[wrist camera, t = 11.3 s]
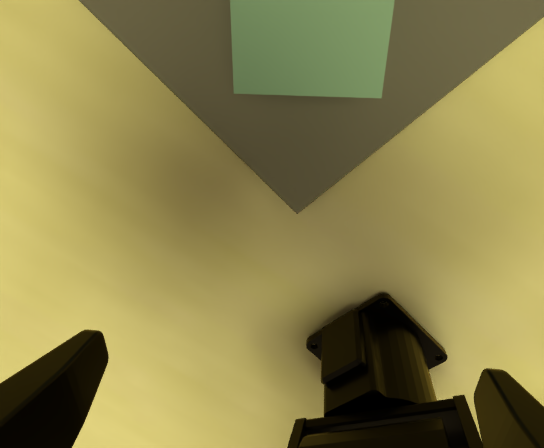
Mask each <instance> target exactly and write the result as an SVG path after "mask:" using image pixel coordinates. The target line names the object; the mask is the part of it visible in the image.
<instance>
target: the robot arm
mask: <svg viewBox="0 0 544 448" xmlns="http://www.w3.org/2000/svg"><path fill="white" fill-rule="evenodd" d="M382 301H386V303H380V302H382ZM313 343H315V345H314V344H313ZM306 346H307V349H308V350H309V351H310V352H312V353H313V354H314V355H315V356H316V357H317V358H319V359H320V360H321V382H322V383H323V384H324V417H322V418H315V419H308V420H307V419H306V418H302V419H296V420H295V424H294V427H293V431H292V434H291V437H290V440H289V444H288V447H287V448H544V406H542V405H541V404H540V403H539V402H538V401H537V400H536V399H535V398H534V397H533V396H532V395H531V394H530V393H529V392H528V391H526V390H525V389H524V388H523V387H522V386H521V385H520V384H519V383H518V382H517V381H516V380H515V379H514V378H513V377H511V376H510V375H509V374H508V373H507V372H506V371H504V370H500V369H489V368H486V369H484V370H483V371H482V373H481V376H480V379H479V381H478V384H477V387H476V390H475V393H474V404H475V409H476V414H477V419H478V424H479V429H480V434H481V438H482V441H481V438H480V436H479V433H478V430H477V428H476V425H475V422H474V420H473V417H472V414H471V412H470V409H469V406H468V404H467V401H466V398H465V396H464V395H459V396H453V399H446V400H439V401H437V399H436V396H435V392H434V388H433V384H432V381H431V377H430V373H429V369H431V368H433V367H435V366H437V365H439V364H441V363H443V362H445V361H446V360H447V354H446V351H445V350H444V349H443V348H442V347H441V346H440V345H439V344H438V343H437V342H436V341H435V340H434V339H433V338H432V337H431V336H430V335H429V334H428V333H427V332H426V331H425V330H424V329H423V328H422V327H421V326H420V325H419V324H418V323H417V322H416V321H415V320H414V319H413V318H412V317H411V316H410V315H409V314H408V313H407V312H406V311H405V310H404V309H403V308H402V307H401V306H400V305H399V304H398V303H397V302H396V301H395V300H394V299H393V298H392V297H391V296H390V295H388V294H385V293H383V294H379V295H377V296H375V297H374V298H372V299H370V300H369V301H367V302H366V303H364V304H362V305H361V306H359V307H357V308H356V309H354V310H351V311H350V312H348V313H346V314H345V315H343V316H341V317H340V318H338V319H337V320H335V321H333V322H332V323H330V324H328V325H327V326H325V327H324V328H323V329H322V330H320V331H318V332H317V333H315V334H314V335H312V336H310V337H309V338H308V339H307V343H306ZM436 355H439V356H436ZM107 363H108V351H107V347H106V343H105V339H104V336H103V333H102V332H101V331H97V330H83V331H81V332H80V333H78V334H77V335H75V336H73V337H72V338H70V339H69V340H67V341H66V342H64V343H63V344H61V345H59V346H58V347H56V348H55V349H53V350H52V351H50V352H49V353H47V354H45V355H44V356H42V357H41V358H39V359H38V360H36V361H34V362H33V363H31V364H30V365H28V366H27V367H25V368H24V369H22V370H20V371H19V372H17V373H16V374H14V375H13V376H11V377H10V378H8V379H6V380H5V381H3V382H2V383H0V448H72V446H73V444H74V442H75V440H76V438H77V436H78V434H79V432H80V430H81V428H82V426H83V424H84V422H85V419H86V417H87V415H88V412H89V410H90V407H91V405H92V402H93V400H94V397H95V394H96V392H97V389H98V387H99V384H100V382H101V379H102V377H103V374H104V371H105V369H106V366H107ZM482 443H483V444H482Z"/></svg>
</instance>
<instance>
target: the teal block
mask: <svg viewBox="0 0 544 448" xmlns="http://www.w3.org/2000/svg"><path fill="white" fill-rule="evenodd" d="M394 1H395V0H230V10H231V35H232V61H233V87H234V94H261V95H293V96H325V97H356V98H382V90H383V83H384V76H385V68H386V61H387V53H388V46H389V39H390V31H391V24H392V16H393V9H394Z"/></svg>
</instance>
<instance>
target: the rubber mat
mask: <svg viewBox="0 0 544 448" xmlns="http://www.w3.org/2000/svg"><path fill="white" fill-rule="evenodd" d="M79 1H80V2H81V3H82V4H83V5H84V6H85V7H86V8H87V9H88V10H89V11H90V12H91V13H92V14H93V15H94V16H95V17H96V18H97V19H98V20H99V21H100V22H101V23H102V24H103V25H104V26H106V27H107V28H108V29H109V30H110V31H111V32H112V33H113V34H114V35H115V36H116V37H117V38H118V39H119V40H120V41H121V42H122V43H123V44H124V45H125V46H126V47H127V48H128V49H129V50H130V51H131V52H132V53H133V54H134V55H135V56H136V57H137V58H138V59H139V60H140V61H141V62H142V63H143V64H144V65H145V66H146V67H147V68H148V69H149V70H150V71H152V72H153V73H154V74H155V75H156V76H157V77H158V78H159V79H160V80H161V81H162V82H163V83H164V84H165V85H166V86H167V87H168V88H169V89H170V90H171V91H172V92H173V93H174V94H175V95H176V96H177V97H178V98H179V99H180V100H181V101H182V102H183V103H184V104H185V105H186V106H187V107H188V108H189V109H190V110H191V111H192V112H193V113H194V114H195V115H196V116H198V117H199V118H200V119H201V120H202V121H203V122H204V123H205V124H206V125H207V126H208V127H209V128H210V129H211V130H212V131H213V132H214V133H215V134H216V135H217V136H218V137H219V138H220V139H221V140H222V141H223V142H224V143H225V144H226V145H227V146H228V147H229V148H230V149H231V150H232V151H233V152H234V153H235V154H236V155H237V156H238V157H239V158H240V159H241V160H243V161H244V162H245V163H246V164H247V165H248V166H249V167H250V168H251V169H252V170H253V171H254V172H255V173H256V174H257V175H258V176H259V177H260V178H261V179H262V180H263V181H264V182H265V183H266V184H267V185H268V186H269V187H270V188H271V189H272V190H273V191H274V192H275V193H276V194H277V195H278V196H279V197H280V198H281V199H282V200H283V201H284V202H285V203H286V204H287V205H289V206H290V207H291V208H292V209H293V210H294V211H295V212H296V213H297V214H298V213H299V212H300V211H302V210H303V209H304V208H305V207H307V206H308V205H309V204H310V203H312V202H313V201H314V200H315V199H317V198H318V197H319V196H320V195H322V194H323V193H324V192H325V191H327V190H328V189H329V188H330V187H332V186H333V185H334V184H335V183H337V182H338V181H339V180H340V179H342V178H343V177H344V176H345V175H347V174H348V173H349V172H350V171H352V170H353V169H354V168H355V167H357V166H358V165H359V164H360V163H362V162H363V161H364V160H365V159H367V158H368V157H369V156H370V155H372V154H373V153H374V152H375V151H377V150H378V149H379V148H380V147H382V146H383V145H384V144H385V143H387V142H388V141H389V140H390V139H392V138H393V137H394V136H395V135H397V134H398V133H399V132H400V131H402V130H403V129H404V128H405V127H407V126H408V125H409V124H410V123H412V122H413V121H414V120H415V119H417V118H418V117H419V116H420V115H422V114H423V113H424V112H425V111H427V110H428V109H429V108H430V107H432V106H433V105H434V104H435V103H437V102H438V101H439V100H440V99H442V98H443V97H444V96H445V95H447V94H448V93H449V92H450V91H452V90H453V89H454V88H455V87H457V86H458V85H459V84H460V83H462V82H463V81H464V80H465V79H467V78H468V77H469V76H470V75H472V74H473V73H474V72H475V71H477V70H478V69H479V68H480V67H482V66H483V65H484V64H485V63H487V62H488V61H489V60H490V59H492V58H493V57H494V56H495V55H497V54H498V53H499V52H500V51H502V50H503V49H504V48H505V47H507V46H508V45H509V44H510V43H512V42H513V41H514V40H515V39H517V38H518V37H519V36H520V35H522V34H523V33H524V32H525V31H527V30H528V29H529V28H530V27H532V26H533V25H534V24H535V23H537V22H538V21H539V20H540V19H542V18H543V17H544V0H395V1H394V9H393V16H392V24H391V31H390V39H389V46H388V53H387V61H386V68H385V76H384V83H383V90H382V98H356V97H325V96H293V95H261V94H234V87H233V61H232V35H231V10H230V0H79Z"/></svg>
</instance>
